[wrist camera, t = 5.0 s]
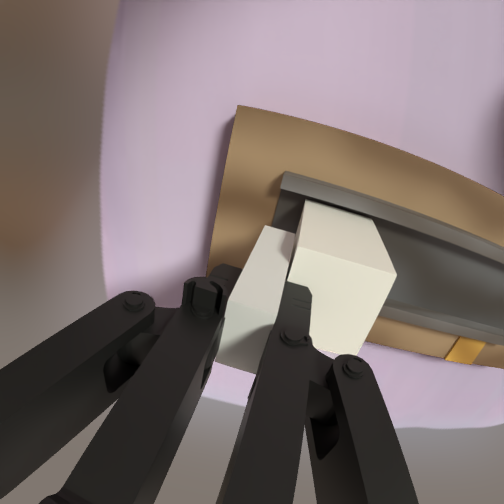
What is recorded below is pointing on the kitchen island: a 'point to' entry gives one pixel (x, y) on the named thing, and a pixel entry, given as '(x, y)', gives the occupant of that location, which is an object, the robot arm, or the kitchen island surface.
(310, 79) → the kitchen island surface
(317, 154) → the wooden slider track
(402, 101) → the kitchen island surface
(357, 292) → the switch knob
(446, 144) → the kitchen island surface
